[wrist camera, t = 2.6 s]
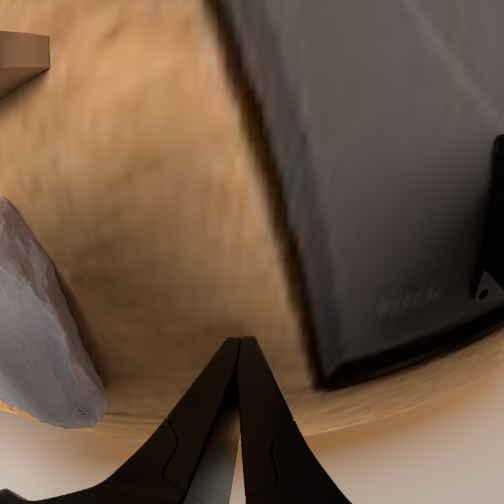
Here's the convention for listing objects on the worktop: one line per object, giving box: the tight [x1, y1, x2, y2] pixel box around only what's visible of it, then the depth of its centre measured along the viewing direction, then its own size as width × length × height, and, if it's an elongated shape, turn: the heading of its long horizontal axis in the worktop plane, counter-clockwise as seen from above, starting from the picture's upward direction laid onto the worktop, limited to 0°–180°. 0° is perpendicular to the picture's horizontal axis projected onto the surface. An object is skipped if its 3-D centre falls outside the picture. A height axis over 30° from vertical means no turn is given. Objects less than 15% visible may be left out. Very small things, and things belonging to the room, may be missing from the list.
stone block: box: [0, 197, 110, 429], centre depth 10 cm, size 12×5×10 cm
